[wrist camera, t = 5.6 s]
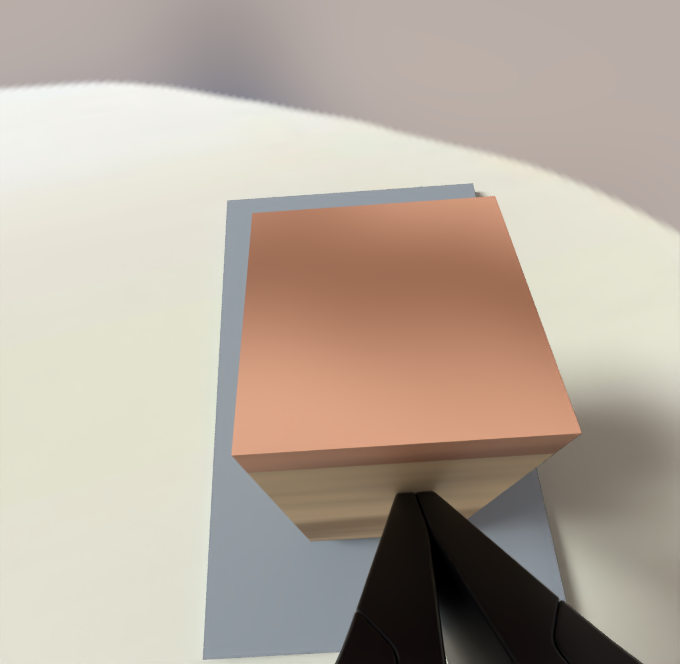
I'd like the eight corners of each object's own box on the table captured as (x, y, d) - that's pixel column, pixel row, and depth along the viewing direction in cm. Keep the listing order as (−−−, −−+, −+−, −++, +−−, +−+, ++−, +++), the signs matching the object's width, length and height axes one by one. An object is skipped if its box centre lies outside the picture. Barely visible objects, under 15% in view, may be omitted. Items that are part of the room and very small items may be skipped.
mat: (566, 633, 15) (574, 637, 15) (208, 654, 15) (202, 659, 15) (469, 191, 23) (472, 183, 22) (230, 207, 23) (227, 200, 22)
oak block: (448, 533, 15) (582, 433, 6) (310, 541, 15) (231, 455, 6) (426, 403, 18) (495, 195, 9) (309, 411, 18) (252, 213, 9)
